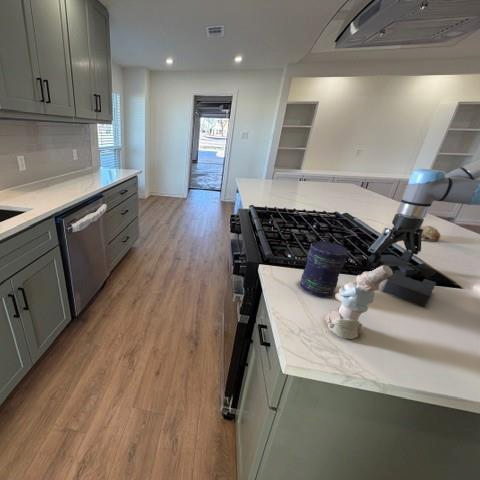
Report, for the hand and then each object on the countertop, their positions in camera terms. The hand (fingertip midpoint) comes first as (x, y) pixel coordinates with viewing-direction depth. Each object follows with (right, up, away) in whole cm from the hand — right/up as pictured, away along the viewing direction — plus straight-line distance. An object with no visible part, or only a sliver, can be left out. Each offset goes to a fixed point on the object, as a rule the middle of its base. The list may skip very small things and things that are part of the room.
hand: (386, 268), depth 96 cm
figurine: (-38, -12, -30) cm, 50 cm away
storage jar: (-35, -5, -13) cm, 38 cm away
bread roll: (+46, +12, +31) cm, 57 cm away
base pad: (-6, -6, -14) cm, 16 cm away
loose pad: (0, -1, -1) cm, 2 cm away
